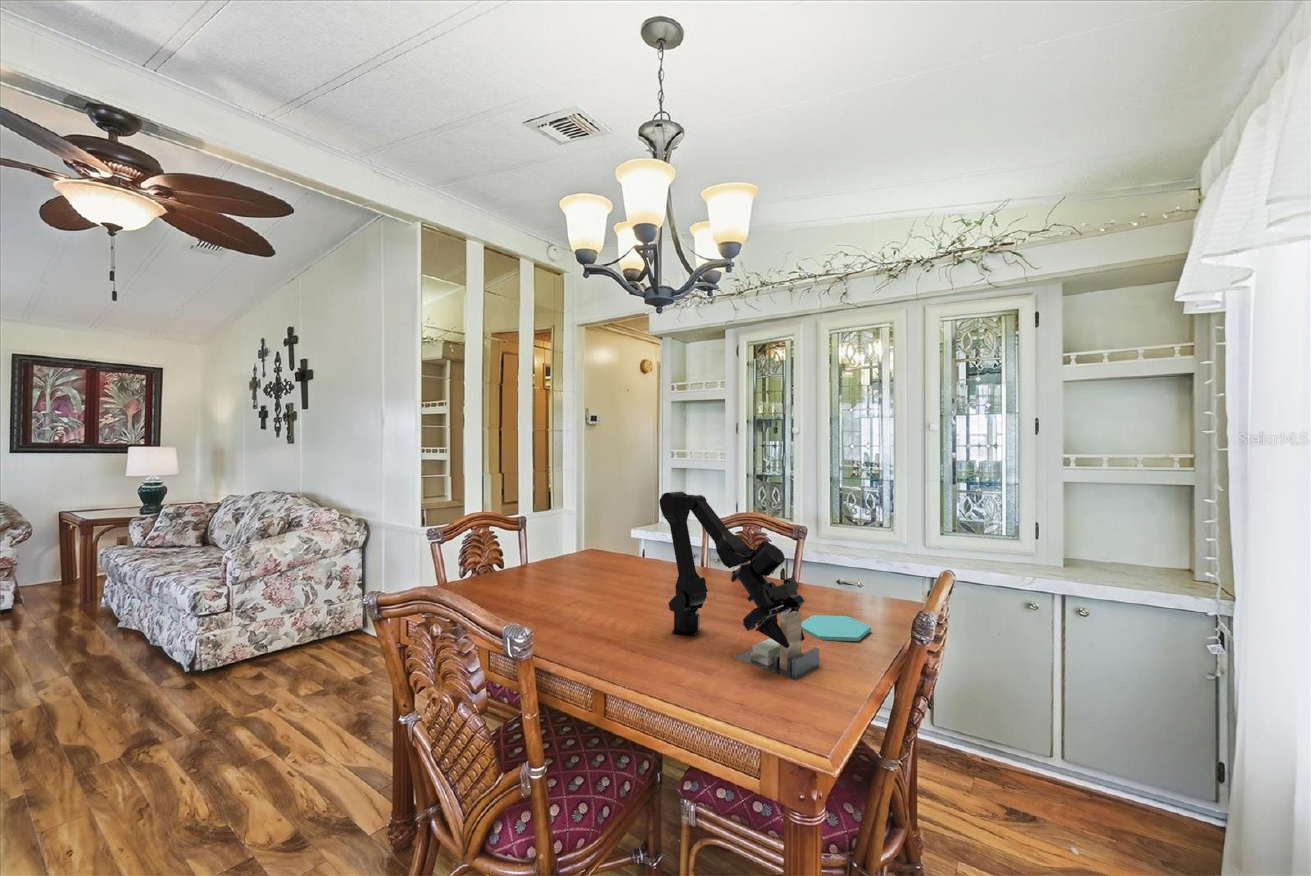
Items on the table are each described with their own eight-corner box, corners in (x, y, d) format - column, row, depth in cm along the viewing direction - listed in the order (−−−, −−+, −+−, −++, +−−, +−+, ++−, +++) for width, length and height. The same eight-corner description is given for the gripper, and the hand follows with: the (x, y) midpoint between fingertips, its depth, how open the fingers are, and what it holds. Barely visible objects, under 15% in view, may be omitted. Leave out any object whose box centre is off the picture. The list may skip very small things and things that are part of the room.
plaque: (800, 642, 146) (877, 645, 142) (799, 635, 146) (877, 638, 142) (796, 620, 163) (865, 622, 159) (796, 614, 163) (865, 616, 159)
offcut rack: (734, 661, 131) (734, 640, 131) (763, 648, 139) (763, 629, 139) (795, 685, 119) (795, 662, 119) (823, 669, 127) (823, 648, 127)
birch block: (779, 668, 125) (779, 616, 125) (793, 660, 129) (794, 610, 129) (787, 670, 123) (787, 618, 123) (801, 663, 128) (801, 612, 128)
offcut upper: (752, 651, 131) (752, 645, 131) (769, 644, 135) (769, 638, 135) (768, 657, 127) (768, 651, 127) (784, 649, 132) (784, 643, 132)
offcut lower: (750, 659, 130) (750, 653, 130) (770, 650, 135) (770, 644, 135) (768, 665, 126) (768, 659, 126) (787, 656, 132) (787, 650, 132)
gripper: (753, 574, 123) (795, 635, 115) (798, 561, 135) (838, 616, 127) (726, 601, 129) (764, 661, 120) (771, 586, 141) (808, 640, 133)
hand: (795, 643), depth 125 cm, fingers closed on birch block, 6 cm apart
